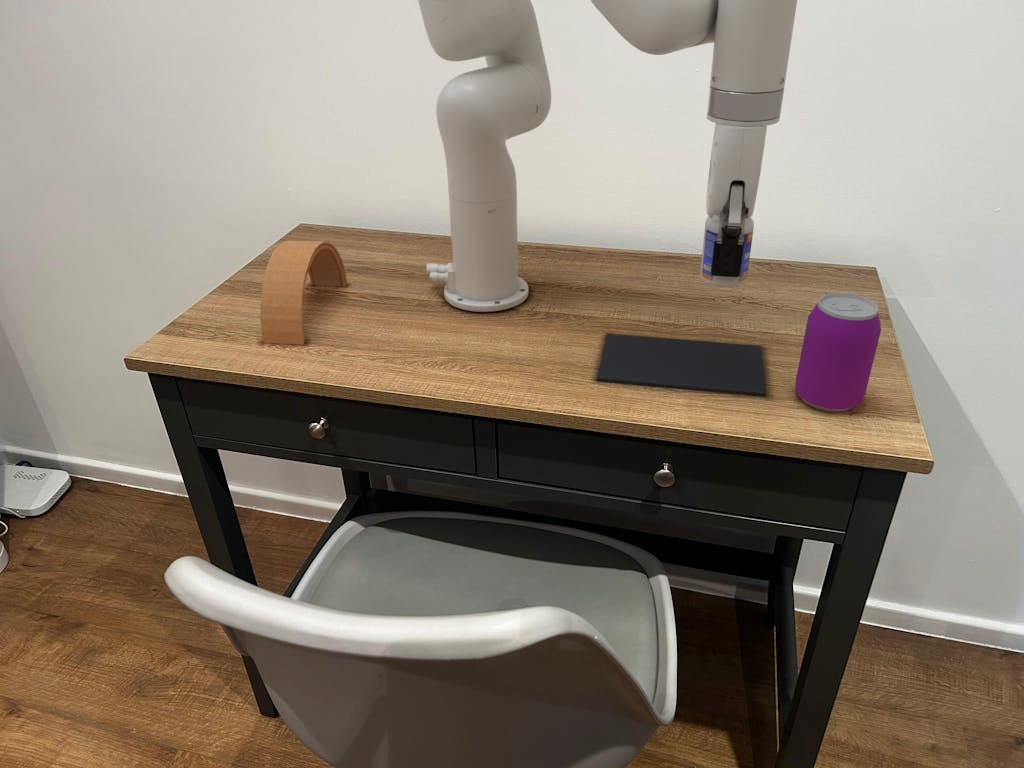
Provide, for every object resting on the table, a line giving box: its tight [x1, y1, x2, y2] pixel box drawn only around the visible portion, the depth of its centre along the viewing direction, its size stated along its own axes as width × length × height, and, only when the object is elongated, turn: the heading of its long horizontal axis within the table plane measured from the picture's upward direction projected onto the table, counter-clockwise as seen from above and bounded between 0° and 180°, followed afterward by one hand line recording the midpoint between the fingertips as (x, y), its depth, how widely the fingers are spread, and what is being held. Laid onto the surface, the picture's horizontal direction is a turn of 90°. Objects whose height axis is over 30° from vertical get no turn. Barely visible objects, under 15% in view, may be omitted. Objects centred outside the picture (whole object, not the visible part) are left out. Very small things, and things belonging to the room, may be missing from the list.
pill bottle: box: [700, 194, 755, 288], centre depth 92 cm, size 5×5×10 cm
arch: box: [259, 240, 348, 346], centre depth 114 cm, size 6×20×10 cm, turn 173°
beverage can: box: [794, 292, 882, 413], centre depth 91 cm, size 8×8×12 cm
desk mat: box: [596, 333, 767, 397], centre depth 101 cm, size 20×12×1 cm, turn 78°
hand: (724, 263), depth 94 cm, fingers closed on pill bottle, 5 cm apart
